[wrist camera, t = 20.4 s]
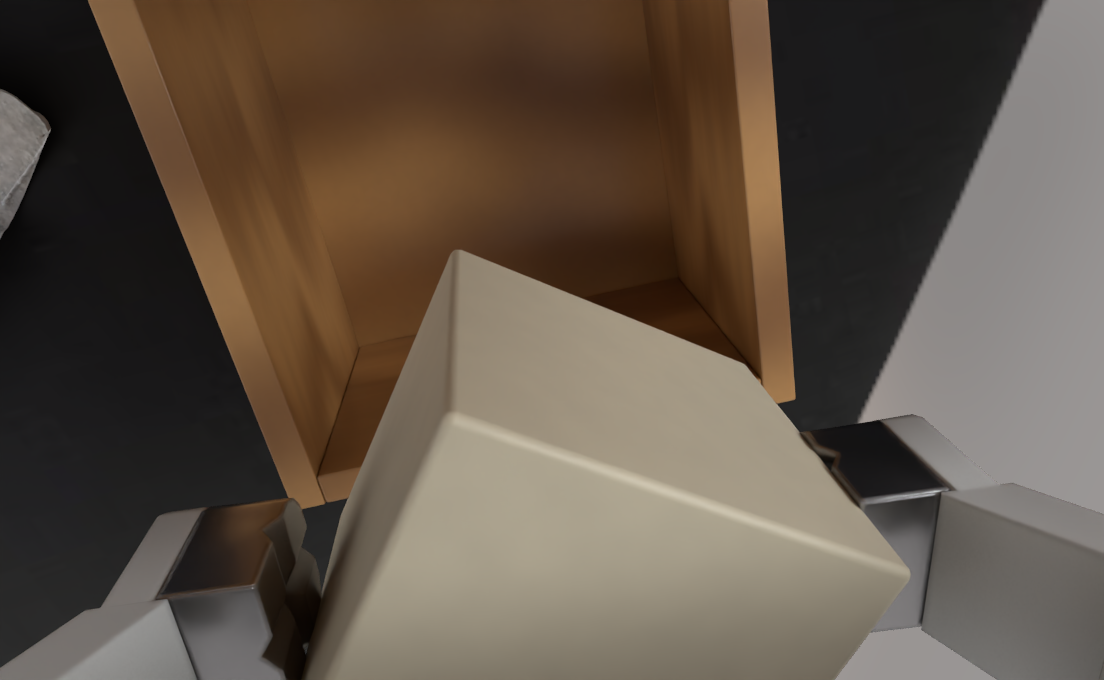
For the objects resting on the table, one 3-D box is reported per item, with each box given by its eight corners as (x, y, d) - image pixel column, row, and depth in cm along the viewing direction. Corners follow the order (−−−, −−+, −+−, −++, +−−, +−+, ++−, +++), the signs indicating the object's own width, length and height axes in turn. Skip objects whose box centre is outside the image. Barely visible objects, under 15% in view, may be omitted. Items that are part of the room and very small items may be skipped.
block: (747, 363, 11) (919, 575, 7) (609, 596, 12) (681, 889, 8) (453, 244, 10) (445, 411, 6) (339, 517, 11) (265, 810, 7)
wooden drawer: (697, 285, 27) (796, 400, 19) (346, 362, 26) (293, 511, 18) (631, -249, 20) (738, -424, 12) (172, -154, 20) (-24, -271, 12)
